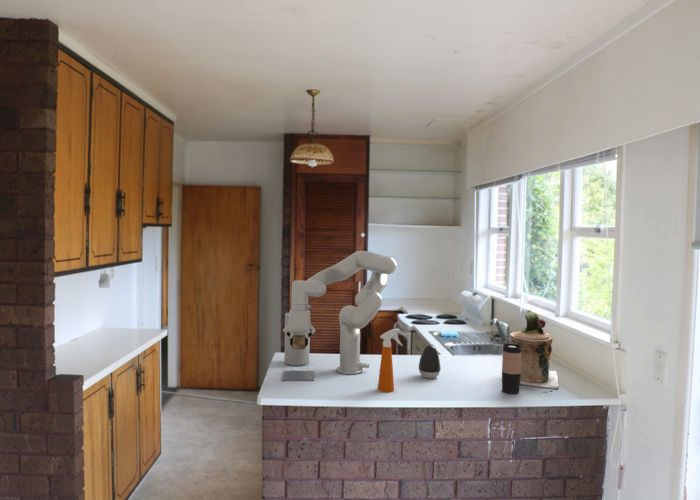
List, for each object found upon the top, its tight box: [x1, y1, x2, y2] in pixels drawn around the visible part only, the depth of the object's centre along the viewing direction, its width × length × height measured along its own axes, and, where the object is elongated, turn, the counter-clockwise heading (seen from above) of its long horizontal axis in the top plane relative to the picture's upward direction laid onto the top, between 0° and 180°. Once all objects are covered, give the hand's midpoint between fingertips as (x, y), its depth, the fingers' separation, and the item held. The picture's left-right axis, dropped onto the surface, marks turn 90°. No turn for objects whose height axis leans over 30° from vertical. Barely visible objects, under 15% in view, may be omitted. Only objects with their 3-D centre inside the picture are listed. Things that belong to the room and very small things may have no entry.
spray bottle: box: [377, 328, 403, 393], centre depth 221 cm, size 7×11×26 cm, turn 107°
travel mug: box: [501, 343, 521, 395], centre depth 222 cm, size 8×8×20 cm
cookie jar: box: [509, 309, 560, 390], centre depth 241 cm, size 25×25×32 cm
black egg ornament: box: [418, 344, 441, 380], centre depth 241 cm, size 10×10×15 cm
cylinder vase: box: [284, 311, 311, 367], centre depth 261 cm, size 12×12×25 cm
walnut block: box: [293, 335, 305, 349], centre depth 238 cm, size 6×6×6 cm
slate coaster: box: [281, 370, 315, 382], centre depth 238 cm, size 14×14×1 cm
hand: (299, 346), depth 238 cm, fingers closed on walnut block, 5 cm apart
